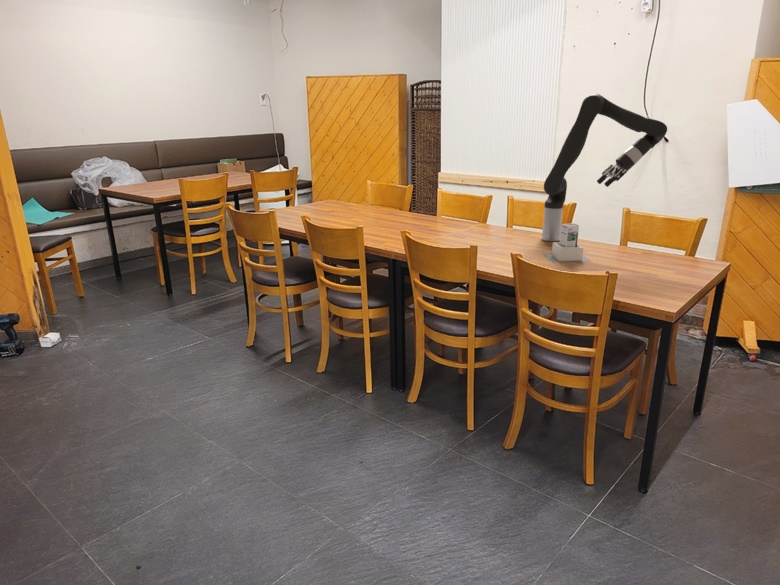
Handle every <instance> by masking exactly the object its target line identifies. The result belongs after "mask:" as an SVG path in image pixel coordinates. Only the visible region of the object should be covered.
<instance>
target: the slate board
mask: <svg viewBox="0 0 780 585" xmlns="http://www.w3.org/2000/svg"><path fill="white" fill-rule="evenodd" d="M542 256H544V258H546V259H548V261H550V262H551V263H552V264H553V263H589V262H593V261H592V260H590V259H589V258H588V257H587V256H585V255H583V256H582V261H559V260H557V259H556V258H555V257H554V256H552V253H542Z"/></svg>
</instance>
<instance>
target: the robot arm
mask: <svg viewBox="0 0 780 585" xmlns="http://www.w3.org/2000/svg"><path fill="white" fill-rule="evenodd" d="M598 115H600V116H605V117H606V118H609V119H611V120H612V121H615V122H616V123H618V124H619V125H621V126H622V127H625V128H627V129H629V130H631V131H634V132H636V133H645V134H643V136H642V137H640V138H639V139H637V140H636V141H635V142H634V143H633V144H632V145H631V146H629V147H628V148H627V149H626V150H625V151H623V153H622V154H620V155H619V156H618V157H617V158H616V159H615V164H614V165H613V164H609V166H608V167H607V168H605V169H604V170H603V171H602V172H601V176H599V178H598V179H597V180H596V182H597V184H598V185H601V184H602V183H603V182H604V181H605V182H604V183H603V184H604V186H605V187H606V188H608V187H609V186H611V184H614V182H618V181H620V179H621V178H623V177H624V176H625V175H626V174H627V173H628V172H629V170H631V169H632V168H633V167H634V166H635V165H636V164H637V163H639V161H641V159H642V158H643V157H644V156H645V155H646V154H647V153H649V151H650V150H651V149H652V148H653V147H655V146H656V145H657V144H659V143H660V142H661V141H662V140H663V139H664V138H665V136H666V135H667V132H668V126H667V124H665V123H664V122H662V121H660V120H657V119H653V118H647V117H645V116H643V115H641V114H638V113H636V112H634V111H631V110H628V109H626V108H623V107H621V106H619V105H617V104H615V103H613V102H611V101H610V100H609V99H608V98H606V97H604V96H603V95H601V94H600V93H592V94H589V95H587V96H586V97H585V98H584V99H583V101H582V103H581V106H580V109H579V111H578V114H577V117H576V119H575V122H574V124H573V125H572V128H570V130H569V133H568V135H567V136H566V138H565V140H564V142H563V144H562V147H561V149H560V152H559V154H558V156H557V158H556V161H555V162H554V165H553V167H552V168H551V170H550V172H549V174H548V175H547V177H546V179H545V181H544V183H543V190H544V193H545V194H547V195H548V197H547V199H546V200H545V201H544V209H543V219H542V221H543V222H542V232H541V240H542V241H545V242H558V241H559V242H560V233H561V224H563V223H562V221H563V210H564V203H565V201H566V196H567V188H568V184H567V183H568V182H567V179H566V178H565V175H566V174H567V172H568V171H569V169H570V168H571V167H572V166H573V165H574V163H575V162H576V161H577V159H578V158H579V156H580V155H581V153H582V151H583V149H584V148H585V144H586V141H587V138H588V134H589V131H590V128H591V126H592V124H593V122H594V120H595V119H596V117H597V116H598ZM606 179H607V180H606Z"/></svg>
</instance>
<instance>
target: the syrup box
mask: <svg viewBox="0 0 780 585" xmlns="http://www.w3.org/2000/svg"><path fill="white" fill-rule="evenodd" d="M579 231H580V226H579V225H578V224H577V223H573V222H572V223H571V222H570V223H561V233H560V240H559V242H560V245H559V246H561V247H562V248H565V247H577V244H578V239H579Z"/></svg>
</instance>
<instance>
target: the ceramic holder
mask: <svg viewBox="0 0 780 585" xmlns="http://www.w3.org/2000/svg"><path fill="white" fill-rule="evenodd" d="M559 245H560V241H559V242H558V241H552V246H551V247H552V249H551V250H552V251H551V254H552V256H554V257H555V258H556V259H557V260H559V261H582V256H584V246H582V245H581V244H578V243H577V247H565V248H562V247H561V246H559Z"/></svg>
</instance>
